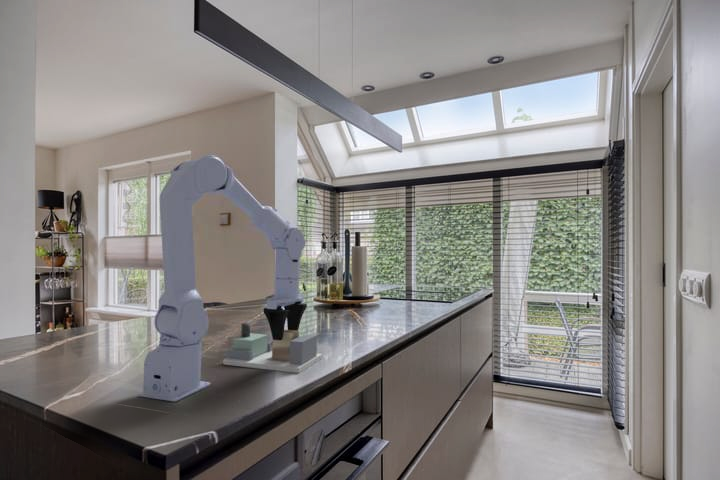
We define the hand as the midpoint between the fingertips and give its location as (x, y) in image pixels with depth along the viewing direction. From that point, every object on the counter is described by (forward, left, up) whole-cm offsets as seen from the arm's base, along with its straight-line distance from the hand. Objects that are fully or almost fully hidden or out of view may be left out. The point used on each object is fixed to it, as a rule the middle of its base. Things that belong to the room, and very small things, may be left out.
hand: (285, 336), depth 93 cm
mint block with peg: (0, +9, -5) cm, 10 cm away
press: (0, +3, -6) cm, 7 cm away
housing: (0, 0, -5) cm, 5 cm away
